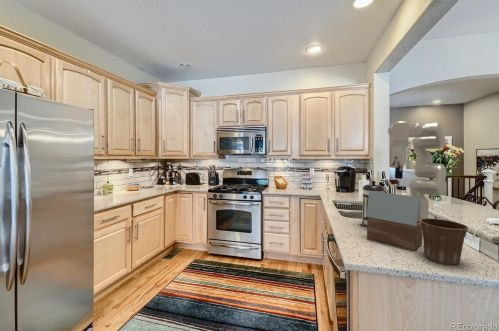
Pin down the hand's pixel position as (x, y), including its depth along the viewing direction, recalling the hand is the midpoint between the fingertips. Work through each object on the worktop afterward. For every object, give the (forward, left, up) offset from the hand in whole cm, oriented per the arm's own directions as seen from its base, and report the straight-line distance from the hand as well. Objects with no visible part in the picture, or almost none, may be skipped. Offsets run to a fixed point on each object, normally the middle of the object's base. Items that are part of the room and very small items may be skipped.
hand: (398, 178), depth 125 cm
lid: (+10, 0, -15) cm, 18 cm away
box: (+5, 0, -34) cm, 34 cm away
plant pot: (+13, +21, -34) cm, 42 cm away
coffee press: (-15, -18, -34) cm, 41 cm away
